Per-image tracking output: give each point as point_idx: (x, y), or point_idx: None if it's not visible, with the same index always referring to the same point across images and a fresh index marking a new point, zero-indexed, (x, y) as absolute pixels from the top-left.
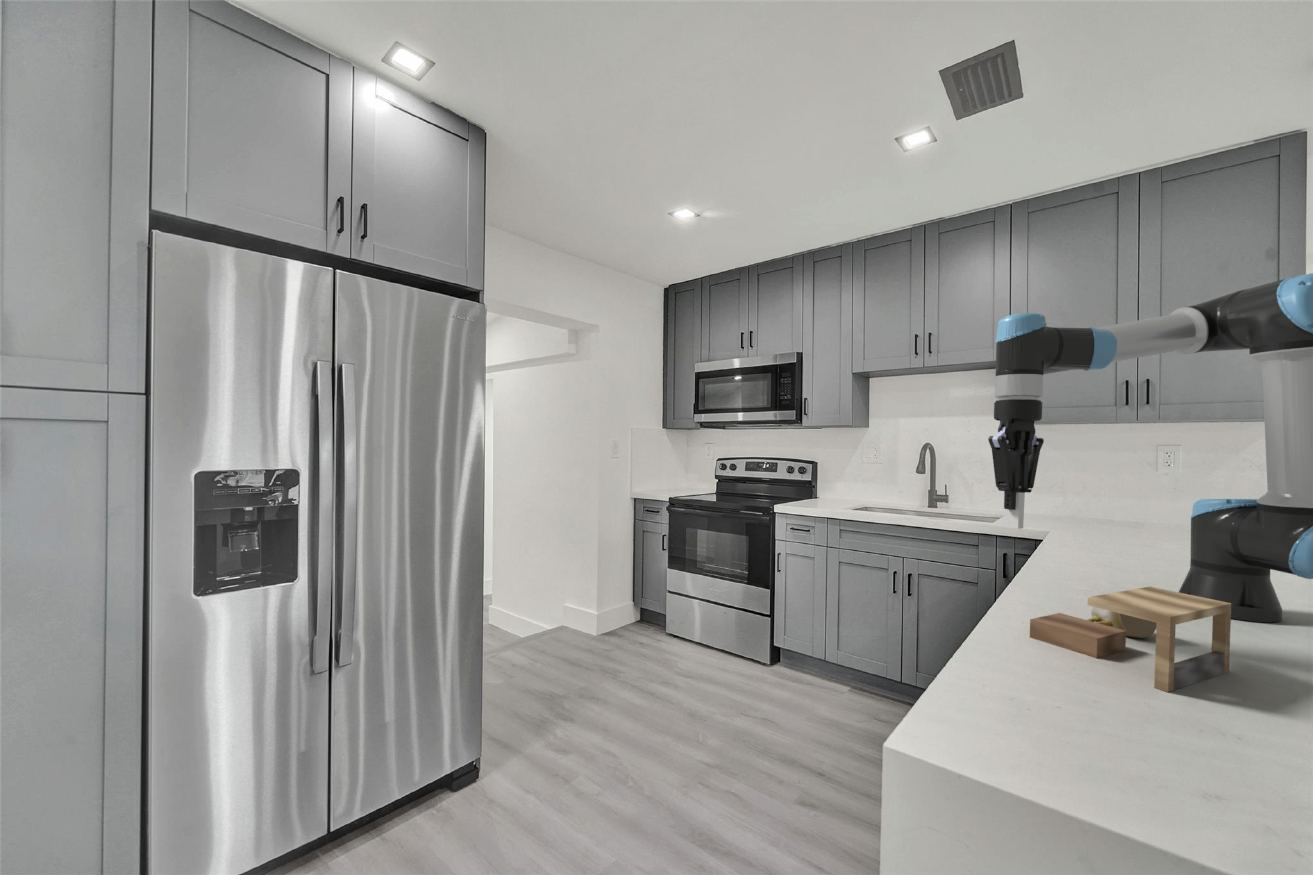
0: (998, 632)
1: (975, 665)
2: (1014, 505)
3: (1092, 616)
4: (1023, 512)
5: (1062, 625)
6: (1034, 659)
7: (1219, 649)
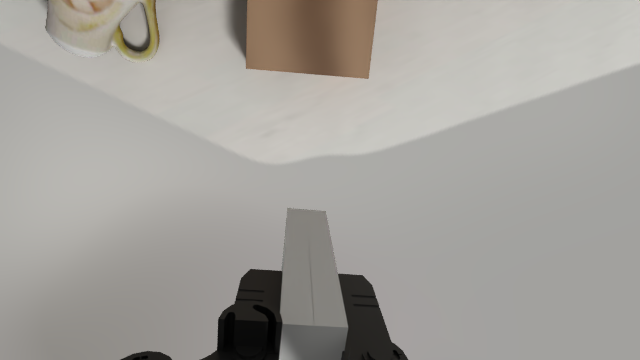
0: (386, 124)
1: (609, 50)
2: (345, 288)
3: (110, 48)
4: (288, 243)
5: (350, 15)
6: (491, 7)
7: None
